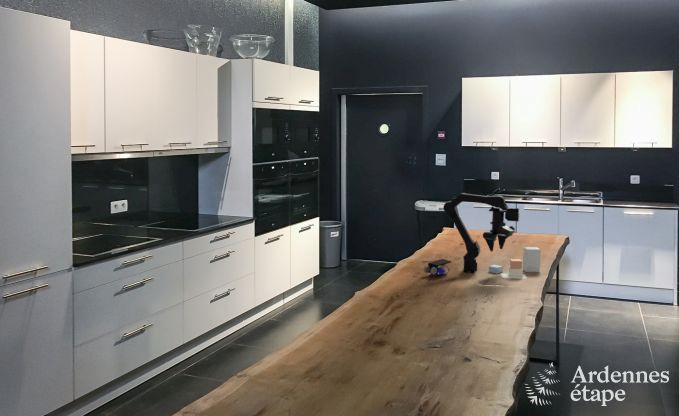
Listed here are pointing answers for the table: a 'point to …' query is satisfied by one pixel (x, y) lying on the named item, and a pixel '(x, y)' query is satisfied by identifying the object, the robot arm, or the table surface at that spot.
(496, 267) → the blue brick
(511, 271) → the base brick
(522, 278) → the baseplate
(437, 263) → the figurine character
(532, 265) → the supplement box
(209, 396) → the table surface
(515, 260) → the terracotta brick
